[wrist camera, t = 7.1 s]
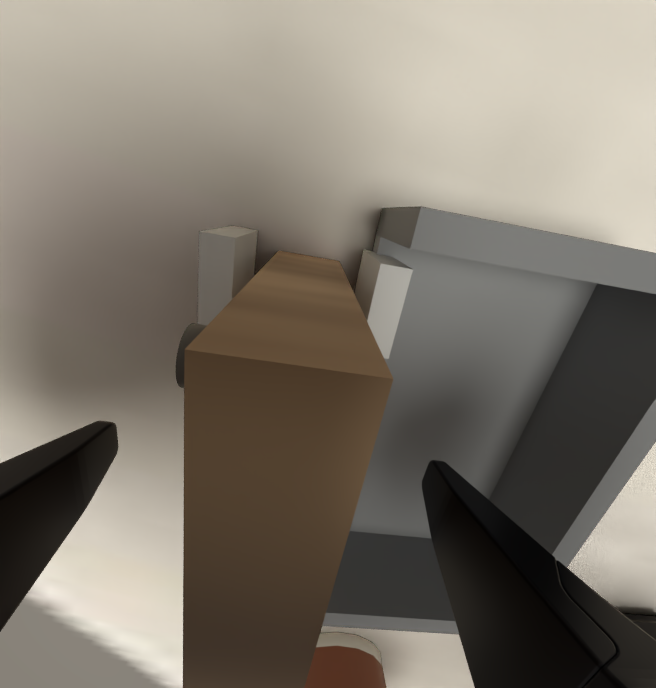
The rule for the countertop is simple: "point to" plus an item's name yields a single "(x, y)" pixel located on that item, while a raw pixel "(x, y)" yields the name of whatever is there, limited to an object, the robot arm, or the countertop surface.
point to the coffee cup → (345, 663)
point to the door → (273, 468)
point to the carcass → (482, 389)
